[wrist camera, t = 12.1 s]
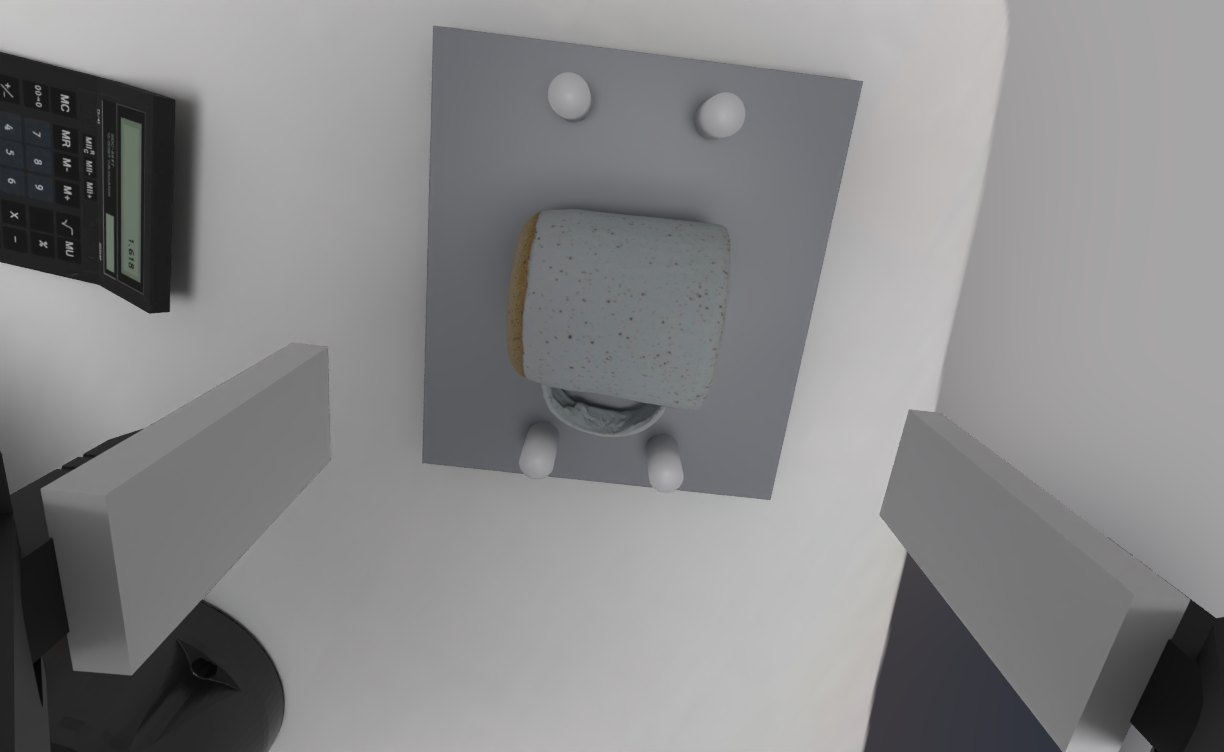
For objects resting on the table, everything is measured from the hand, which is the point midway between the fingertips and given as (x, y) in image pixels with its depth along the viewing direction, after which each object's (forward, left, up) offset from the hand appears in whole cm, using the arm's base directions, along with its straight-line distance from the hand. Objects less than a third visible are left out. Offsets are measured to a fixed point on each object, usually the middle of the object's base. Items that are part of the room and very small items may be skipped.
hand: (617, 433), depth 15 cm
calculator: (-26, +2, -18) cm, 32 cm away
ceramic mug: (0, -1, -16) cm, 16 cm away
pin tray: (0, 0, -18) cm, 18 cm away
